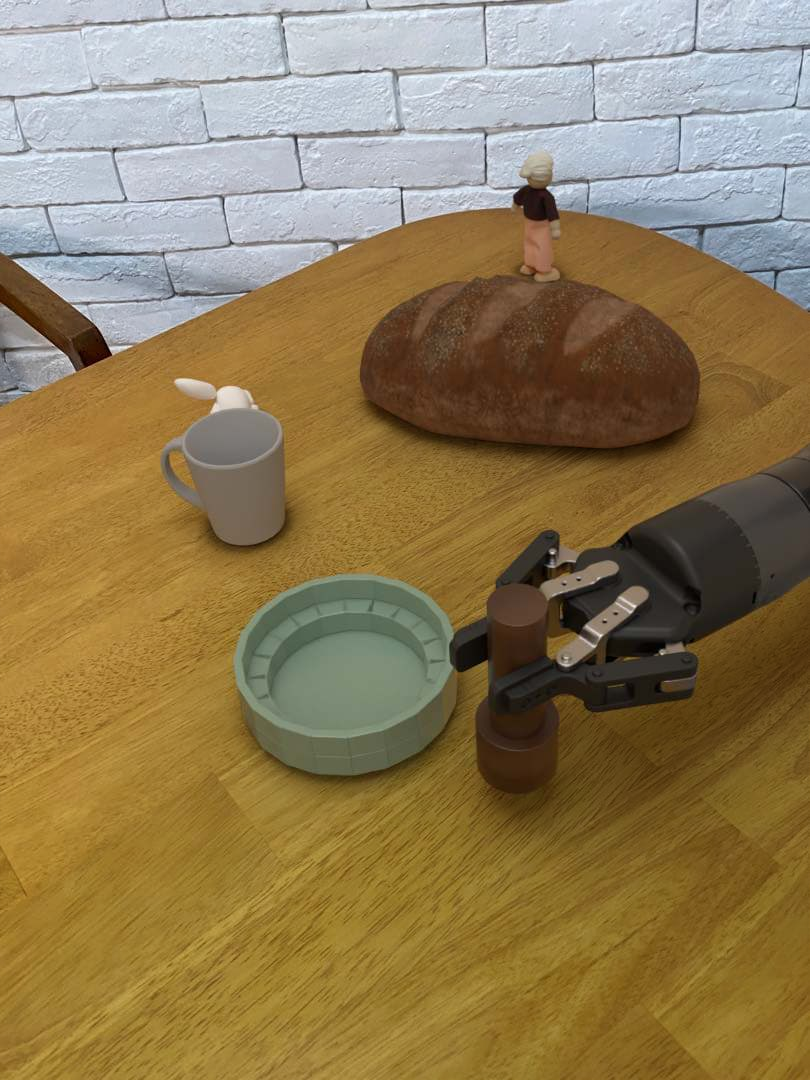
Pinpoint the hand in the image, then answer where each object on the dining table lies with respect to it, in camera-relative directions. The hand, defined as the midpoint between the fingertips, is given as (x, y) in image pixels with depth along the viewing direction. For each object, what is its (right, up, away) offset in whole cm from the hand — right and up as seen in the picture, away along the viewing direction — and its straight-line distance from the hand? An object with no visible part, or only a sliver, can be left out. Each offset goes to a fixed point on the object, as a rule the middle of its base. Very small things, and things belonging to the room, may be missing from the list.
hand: (473, 679), depth 60 cm
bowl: (-7, -3, +15) cm, 17 cm away
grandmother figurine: (+10, +35, +57) cm, 68 cm away
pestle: (+3, -6, +7) cm, 9 cm away
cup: (-17, +9, +30) cm, 35 cm away
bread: (+7, +19, +39) cm, 44 cm away
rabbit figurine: (-20, +17, +39) cm, 47 cm away
